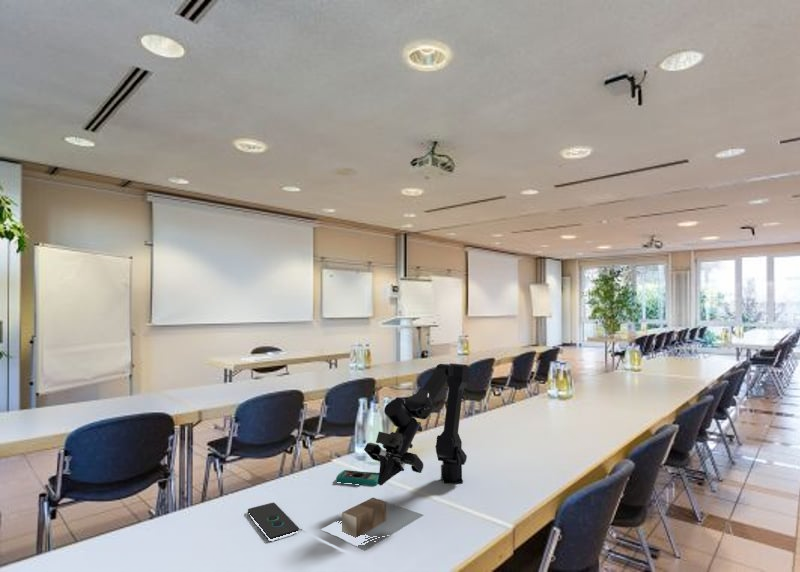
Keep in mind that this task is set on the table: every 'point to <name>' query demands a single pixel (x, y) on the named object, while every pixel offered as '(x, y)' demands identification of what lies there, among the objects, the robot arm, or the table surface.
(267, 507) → the dark grey notebook
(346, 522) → the walnut block
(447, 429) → the robot arm
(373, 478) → the digital multimeter
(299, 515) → the table surface
